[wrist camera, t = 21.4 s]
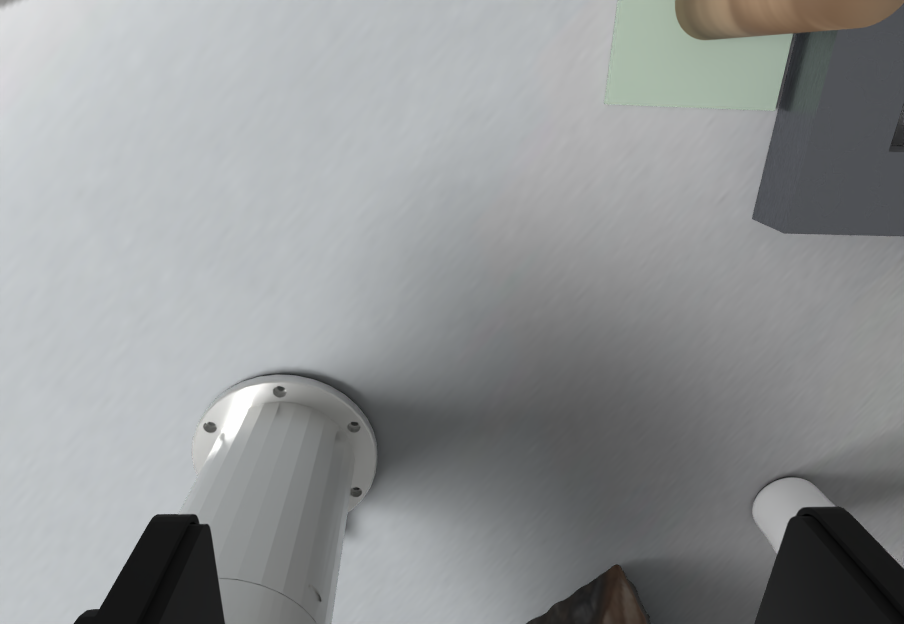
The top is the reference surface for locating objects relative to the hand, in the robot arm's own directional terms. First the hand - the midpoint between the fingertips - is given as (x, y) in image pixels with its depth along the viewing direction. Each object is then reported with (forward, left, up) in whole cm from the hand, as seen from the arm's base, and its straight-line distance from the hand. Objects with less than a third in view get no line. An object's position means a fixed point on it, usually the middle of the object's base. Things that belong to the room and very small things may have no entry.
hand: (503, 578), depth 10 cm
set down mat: (+12, -15, -28) cm, 34 cm away
